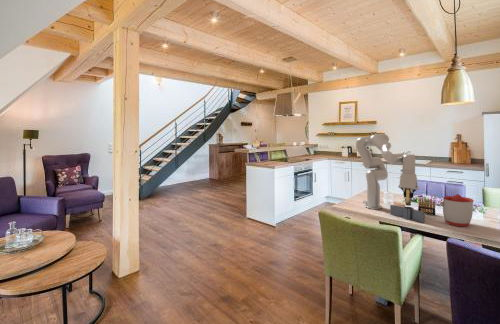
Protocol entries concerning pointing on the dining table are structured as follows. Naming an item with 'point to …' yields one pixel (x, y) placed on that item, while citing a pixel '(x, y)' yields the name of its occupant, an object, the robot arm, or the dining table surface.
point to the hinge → (407, 213)
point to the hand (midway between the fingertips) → (408, 197)
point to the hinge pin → (408, 197)
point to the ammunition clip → (426, 206)
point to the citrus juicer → (457, 210)
